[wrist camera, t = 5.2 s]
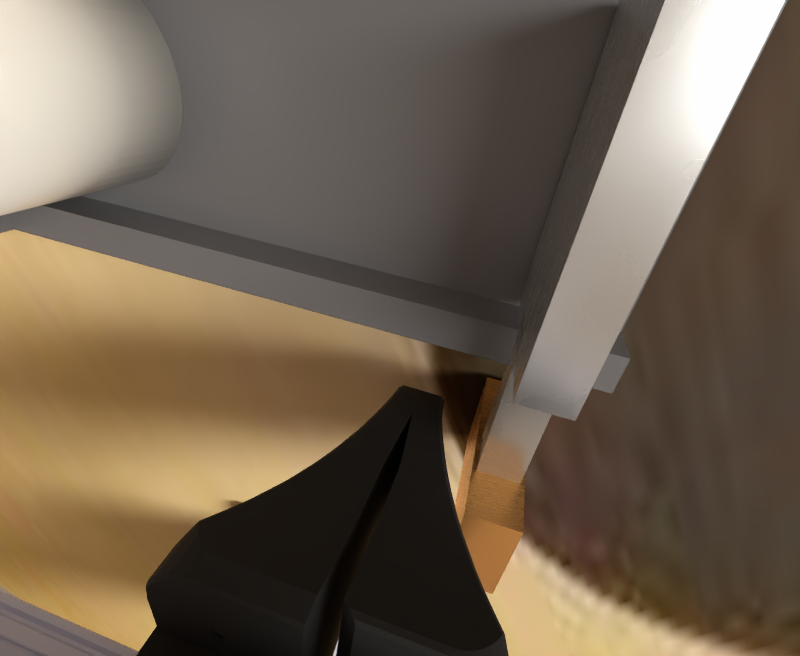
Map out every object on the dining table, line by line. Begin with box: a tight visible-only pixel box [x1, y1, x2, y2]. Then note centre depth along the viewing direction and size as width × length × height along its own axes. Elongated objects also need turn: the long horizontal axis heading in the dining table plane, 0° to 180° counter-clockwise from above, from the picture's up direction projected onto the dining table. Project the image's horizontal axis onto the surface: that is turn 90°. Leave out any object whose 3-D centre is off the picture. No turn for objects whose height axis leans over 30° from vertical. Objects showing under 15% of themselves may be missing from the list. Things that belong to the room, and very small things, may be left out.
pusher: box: [455, 0, 785, 594], centre depth 9 cm, size 11×1×5 cm, turn 172°
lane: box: [0, 0, 787, 393], centre depth 9 cm, size 8×18×4 cm, turn 82°
